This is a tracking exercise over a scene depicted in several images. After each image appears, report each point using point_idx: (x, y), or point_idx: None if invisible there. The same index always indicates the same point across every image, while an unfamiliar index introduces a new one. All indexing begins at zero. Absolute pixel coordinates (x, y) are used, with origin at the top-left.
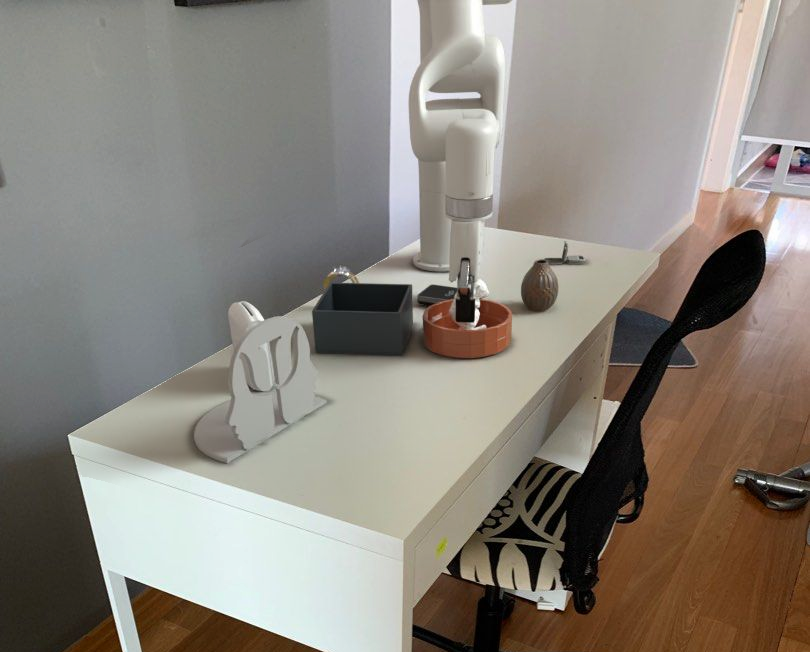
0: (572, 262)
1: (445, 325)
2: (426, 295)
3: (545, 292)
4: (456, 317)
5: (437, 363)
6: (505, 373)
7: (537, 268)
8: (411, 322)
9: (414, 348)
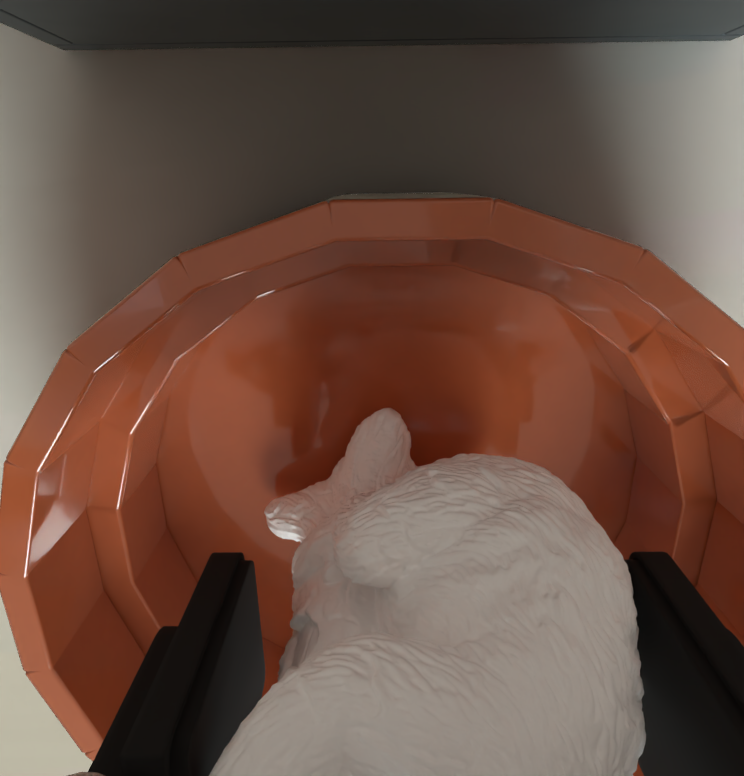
0: None
1: (599, 341)
2: None
3: None
4: (201, 581)
5: (20, 345)
6: (11, 690)
7: None
8: (665, 27)
9: (234, 137)
